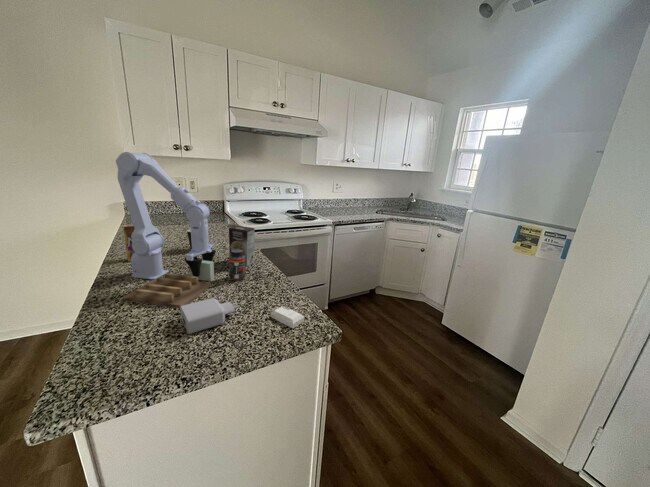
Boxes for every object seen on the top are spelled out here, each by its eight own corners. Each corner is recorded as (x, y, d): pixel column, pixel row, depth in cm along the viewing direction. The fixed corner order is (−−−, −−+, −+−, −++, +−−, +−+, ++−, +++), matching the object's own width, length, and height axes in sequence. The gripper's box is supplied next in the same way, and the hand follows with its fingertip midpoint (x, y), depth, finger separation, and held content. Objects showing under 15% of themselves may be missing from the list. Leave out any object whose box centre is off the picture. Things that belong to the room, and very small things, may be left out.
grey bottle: (244, 318, 79) (189, 336, 70) (232, 305, 86) (180, 319, 77) (244, 304, 78) (187, 320, 69) (232, 291, 85) (179, 304, 76)
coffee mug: (202, 253, 128) (201, 233, 125) (184, 251, 128) (183, 231, 125) (212, 246, 139) (212, 227, 137) (196, 244, 139) (195, 226, 137)
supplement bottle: (240, 282, 102) (240, 254, 98) (226, 280, 103) (225, 251, 99) (248, 276, 107) (247, 249, 104) (234, 274, 108) (233, 247, 105)
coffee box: (229, 263, 119) (227, 227, 114) (237, 258, 125) (236, 224, 120) (247, 266, 117) (246, 230, 112) (255, 261, 123) (254, 227, 118)
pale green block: (190, 278, 102) (189, 261, 100) (194, 276, 104) (193, 259, 102) (210, 281, 101) (209, 263, 99) (214, 278, 103) (213, 261, 101)
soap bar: (292, 329, 76) (293, 321, 75) (270, 317, 81) (270, 310, 80) (304, 322, 80) (304, 314, 79) (282, 311, 85) (282, 303, 84)
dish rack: (122, 300, 84) (120, 290, 83) (159, 279, 99) (158, 270, 98) (182, 308, 82) (181, 298, 81) (210, 286, 97) (210, 277, 96)
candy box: (127, 262, 112) (122, 226, 108) (127, 258, 115) (122, 224, 111) (153, 259, 117) (148, 224, 113) (152, 255, 121) (148, 222, 116)
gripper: (198, 244, 90) (201, 281, 94) (220, 233, 104) (221, 266, 108) (179, 242, 91) (182, 278, 95) (203, 231, 105) (205, 264, 109)
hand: (202, 272), depth 102 cm, fingers open, 7 cm apart
